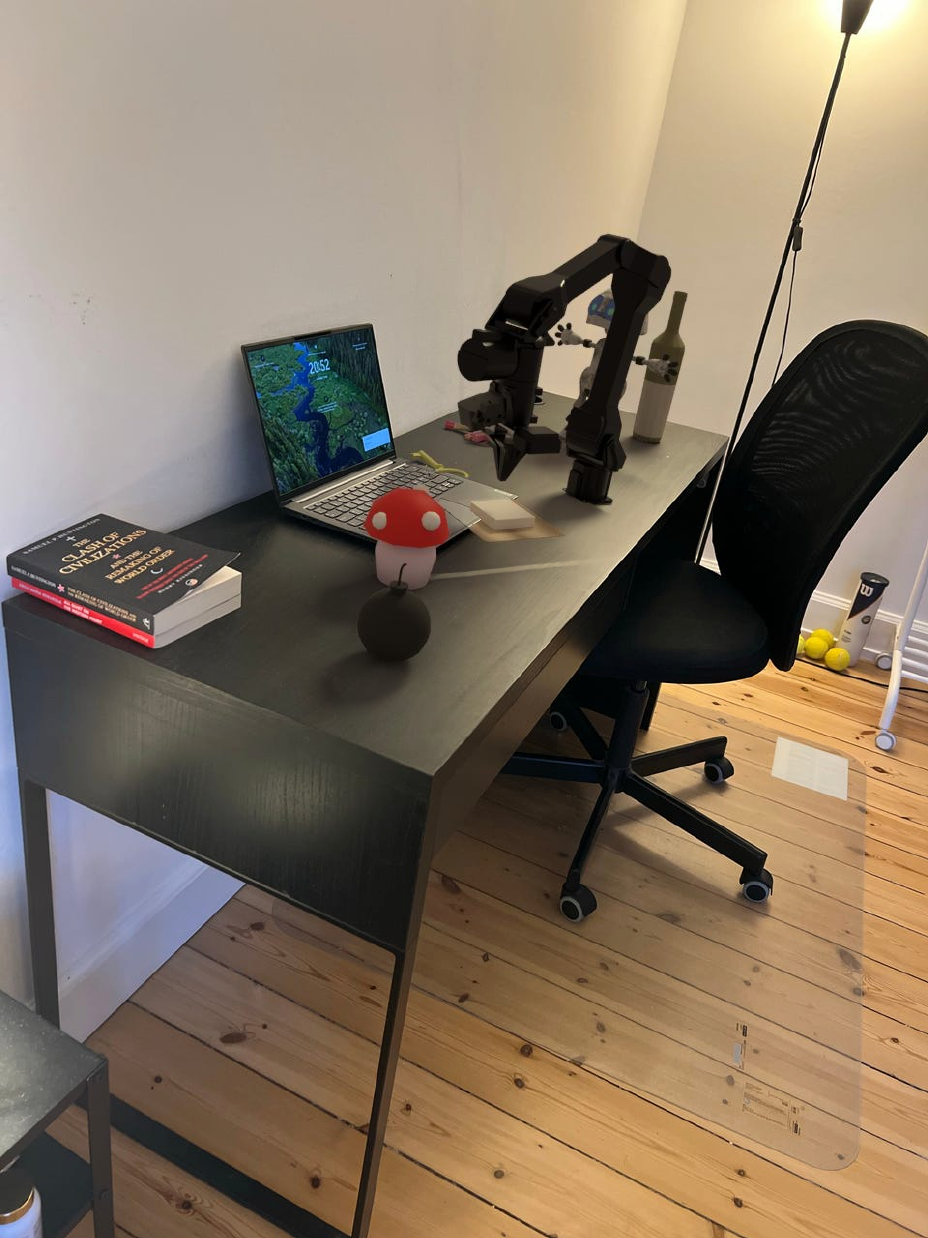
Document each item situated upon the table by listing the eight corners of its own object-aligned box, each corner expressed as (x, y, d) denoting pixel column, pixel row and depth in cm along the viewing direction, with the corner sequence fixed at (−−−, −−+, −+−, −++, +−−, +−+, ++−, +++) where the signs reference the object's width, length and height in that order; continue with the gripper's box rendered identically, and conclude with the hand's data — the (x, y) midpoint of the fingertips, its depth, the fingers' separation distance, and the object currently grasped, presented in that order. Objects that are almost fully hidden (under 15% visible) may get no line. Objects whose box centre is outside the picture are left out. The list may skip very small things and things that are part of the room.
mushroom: (411, 605, 115) (423, 512, 110) (340, 575, 120) (348, 485, 114) (458, 580, 123) (471, 493, 118) (390, 553, 128) (400, 468, 123)
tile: (509, 499, 148) (535, 517, 142) (507, 508, 148) (533, 527, 143) (470, 501, 144) (495, 520, 139) (469, 511, 145) (494, 530, 139)
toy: (442, 445, 187) (514, 459, 182) (434, 433, 181) (508, 447, 177) (453, 410, 188) (524, 424, 183) (445, 398, 182) (519, 411, 178)
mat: (509, 500, 154) (509, 496, 154) (565, 538, 142) (565, 535, 142) (433, 504, 147) (434, 500, 147) (485, 545, 135) (486, 542, 135)
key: (419, 460, 167) (420, 448, 166) (473, 482, 161) (475, 470, 160) (391, 467, 162) (392, 455, 161) (446, 490, 155) (447, 478, 154)
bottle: (623, 434, 201) (656, 287, 188) (647, 433, 205) (681, 289, 191) (645, 445, 196) (681, 294, 183) (669, 443, 200) (706, 296, 186)
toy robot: (517, 423, 197) (543, 272, 184) (556, 418, 205) (583, 273, 191) (633, 471, 178) (671, 307, 165) (670, 465, 186) (710, 307, 172)
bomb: (349, 638, 105) (359, 539, 100) (419, 639, 108) (432, 542, 102) (358, 675, 99) (369, 570, 93) (432, 675, 101) (447, 573, 95)
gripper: (439, 359, 138) (425, 461, 145) (505, 395, 125) (487, 506, 132) (503, 360, 144) (487, 459, 151) (573, 395, 130) (552, 502, 137)
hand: (501, 480), depth 143 cm, fingers closed
